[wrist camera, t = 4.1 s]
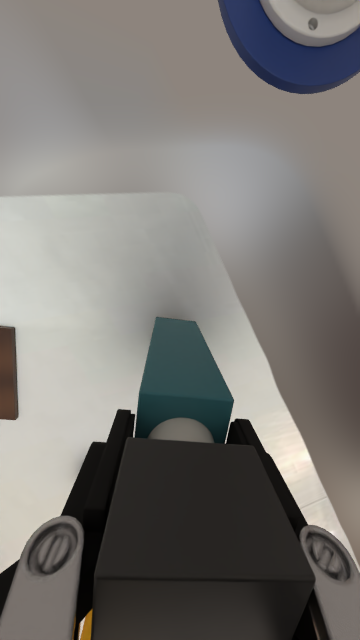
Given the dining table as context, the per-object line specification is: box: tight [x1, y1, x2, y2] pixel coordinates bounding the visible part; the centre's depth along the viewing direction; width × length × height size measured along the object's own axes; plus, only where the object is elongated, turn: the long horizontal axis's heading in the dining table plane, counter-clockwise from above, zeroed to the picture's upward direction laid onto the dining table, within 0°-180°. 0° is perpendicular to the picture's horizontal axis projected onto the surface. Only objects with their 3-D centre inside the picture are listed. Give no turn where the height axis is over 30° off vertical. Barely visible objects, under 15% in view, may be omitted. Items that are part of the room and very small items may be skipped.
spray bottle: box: [91, 317, 316, 640], centre depth 14 cm, size 7×4×18 cm, turn 173°
